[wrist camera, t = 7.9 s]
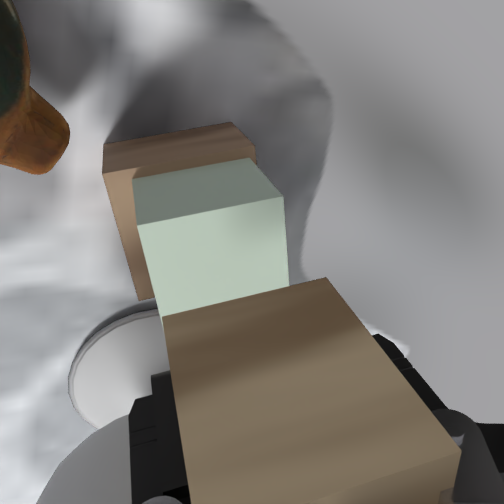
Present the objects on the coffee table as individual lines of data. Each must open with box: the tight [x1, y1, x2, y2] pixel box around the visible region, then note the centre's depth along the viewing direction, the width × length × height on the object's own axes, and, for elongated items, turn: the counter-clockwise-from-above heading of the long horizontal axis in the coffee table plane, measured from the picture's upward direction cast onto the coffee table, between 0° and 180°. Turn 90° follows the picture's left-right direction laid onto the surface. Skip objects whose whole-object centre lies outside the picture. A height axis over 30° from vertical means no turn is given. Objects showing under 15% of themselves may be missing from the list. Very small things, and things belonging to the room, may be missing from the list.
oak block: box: [162, 277, 462, 504], centre depth 11 cm, size 5×5×6 cm
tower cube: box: [132, 158, 289, 330], centre depth 20 cm, size 6×6×5 cm
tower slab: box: [102, 122, 257, 301], centre depth 24 cm, size 7×7×5 cm
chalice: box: [36, 309, 170, 504], centre depth 26 cm, size 14×14×15 cm
